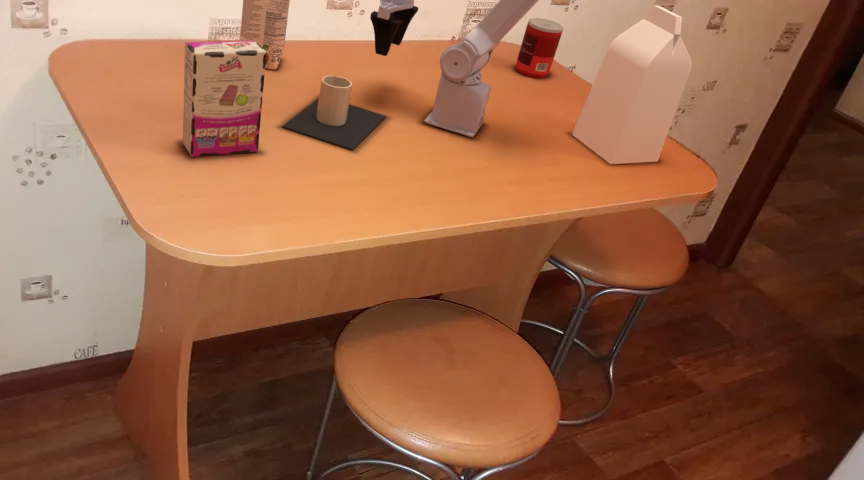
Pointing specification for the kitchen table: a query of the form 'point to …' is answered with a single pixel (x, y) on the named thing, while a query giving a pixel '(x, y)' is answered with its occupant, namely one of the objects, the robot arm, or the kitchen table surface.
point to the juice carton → (266, 27)
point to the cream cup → (333, 100)
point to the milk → (636, 91)
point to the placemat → (343, 135)
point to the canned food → (538, 47)
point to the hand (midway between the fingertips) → (387, 48)
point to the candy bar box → (222, 97)
